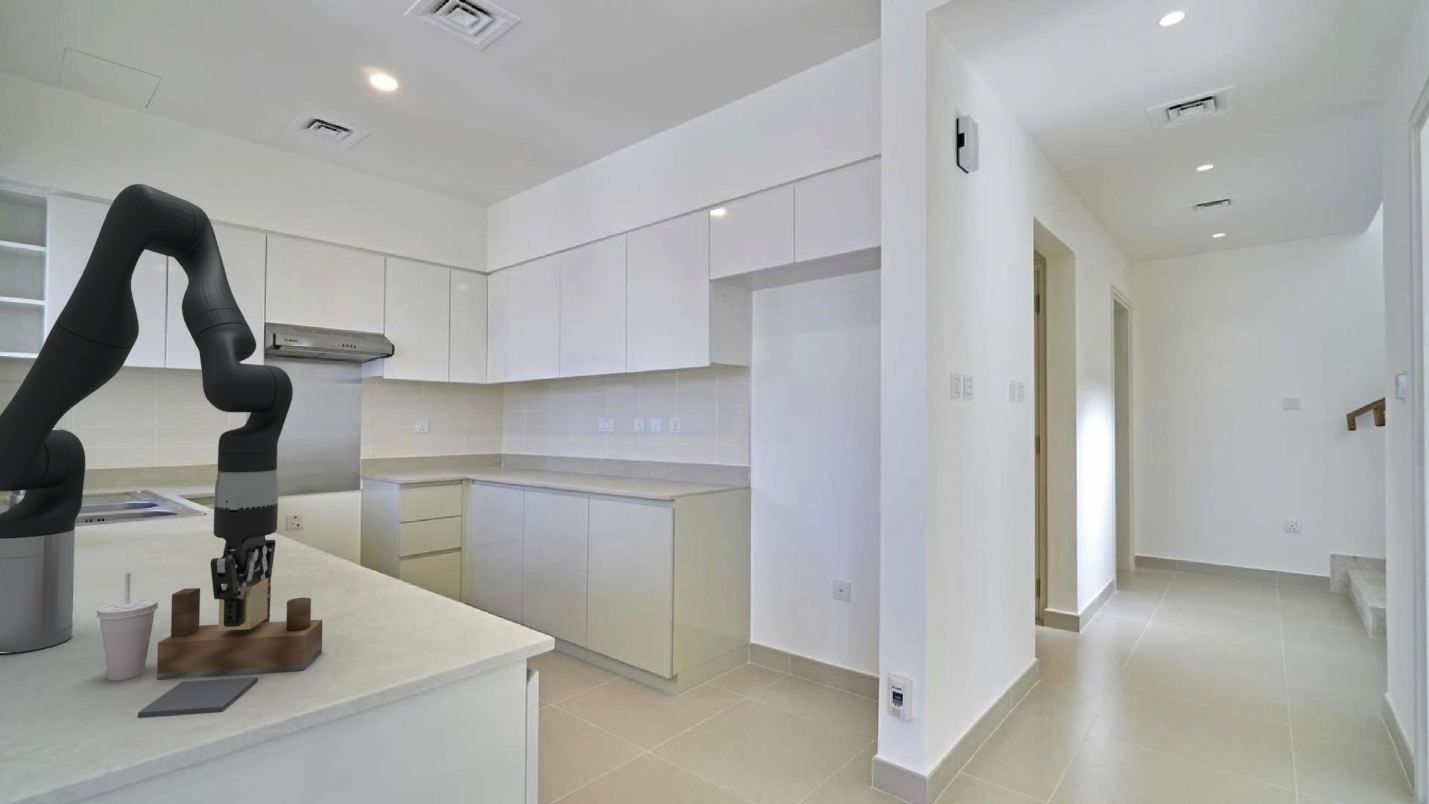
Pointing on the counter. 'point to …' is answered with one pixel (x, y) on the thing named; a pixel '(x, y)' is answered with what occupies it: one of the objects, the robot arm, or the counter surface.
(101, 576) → the counter surface
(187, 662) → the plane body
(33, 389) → the robot arm
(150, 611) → the smoothie
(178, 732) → the counter surface
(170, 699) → the mat
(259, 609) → the brushed brass block
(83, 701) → the counter surface
